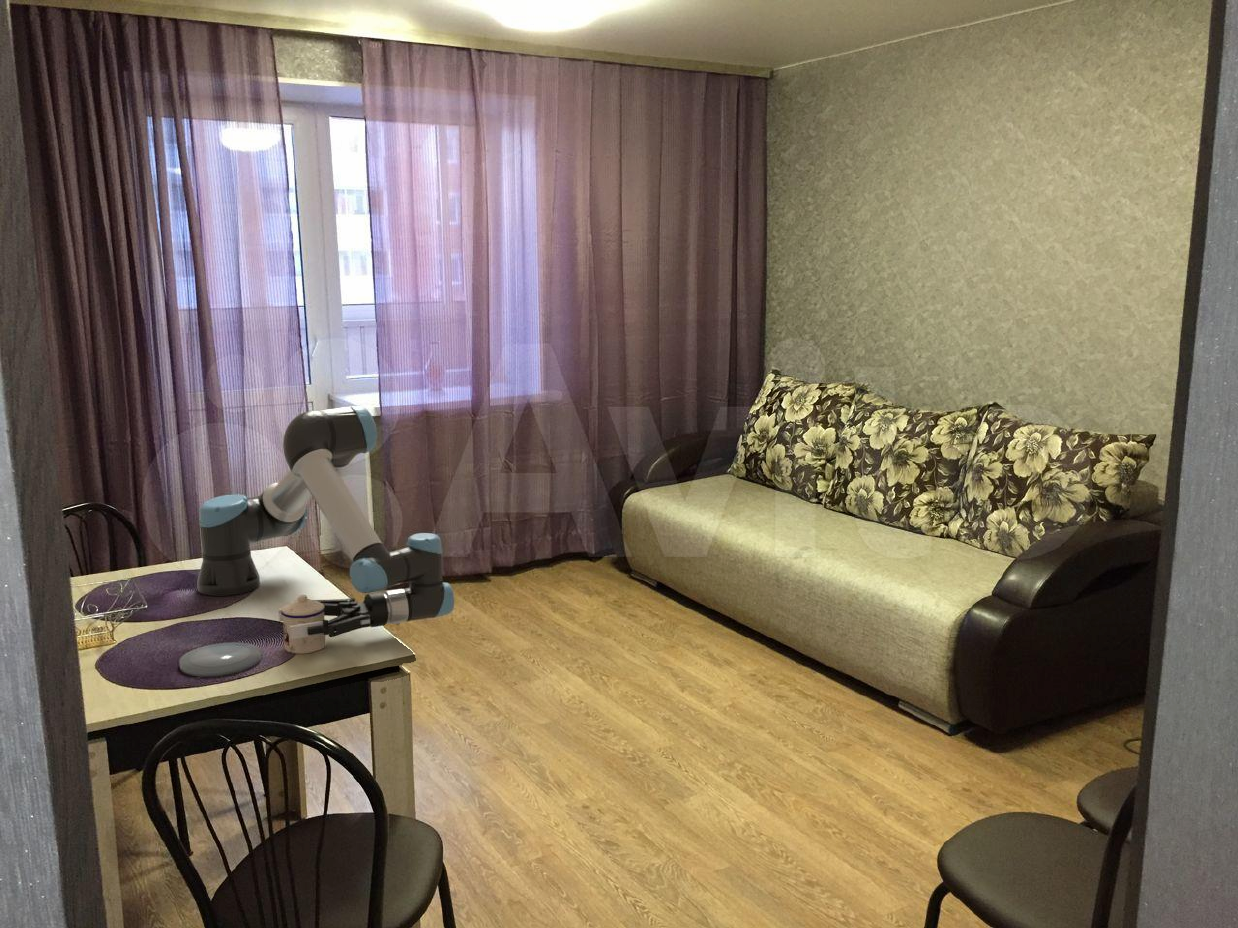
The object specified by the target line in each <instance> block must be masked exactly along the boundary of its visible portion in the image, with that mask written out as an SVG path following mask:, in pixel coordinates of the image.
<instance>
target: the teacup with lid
mask: <svg viewBox="0 0 1238 928" xmlns="http://www.w3.org/2000/svg"><path fill="white" fill-rule="evenodd" d="M313 600H314V599H311V598H308V596H307V595H305V594H301V595H298V596H297V599H296V600H294V601H292V602H290V603H288V604H285V605H284V606H283V607H282V608H283V609H282V611H281V613H282V615H283V621H282V625H283V627H282V628H283V642H284V650H285V651H286V652H287V653H290V652H291V654H296V655H297V654H299V655H304V654H310V653H316V652H318V651H320V650H322V649H323V648H325V647H326V643H327V641H326V635H324V633H323V634H321V635H315V636H309V637H303V638H296V639H291V638H290V626H293V625H299V624H306V623H312V622H318V621H322V625H323V619H324V620H325V616H324V611H325V607H324V605H323V604H322V603H321V602H318V601H313Z"/></svg>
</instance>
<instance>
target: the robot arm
mask: <svg viewBox="0 0 1238 928" xmlns="http://www.w3.org/2000/svg"><path fill="white" fill-rule="evenodd" d="M377 431H378V430H377V425H376V422H375V419H374V417H373V415H372V414H371V412H370V411H369V410H368V409H367V408H366V407H364V406H361V405H348V406H342V407H335V408H326V409H317V410H308V411H305V412H302V413H299V414H297V416H295V417H294V418H293V419H292V420H291V421H290V423H289V424H288V425H287V428H286V429H285V432H284V436H283V441H282V442H283V444H282V449H283V455H284V458H285V462H286V464H287V466H288V468H289V469H288V471H287V472H286V473H285V474H284V476H283V477H282V478H281V479H280V481H279V482H274V483H272V484H269V486H267V487H266V488H265V489H264V491H262V493H261V494H260V495H258V496H254V497H248V496H247V495H244V494H238V493H232V494H228V495H227V494H223V495H219V496H216V497H212V498H211V499H208V500H207V501H205V502H203V504H202V505H201V506H200V508H199V519H198V522H199V530H200V531H199V532H200V539H201V540H200V542H201V543H200V544H201V552H202V553H201V554H202V555H201V556H202V563H201V567H200V570H199V573H198V577H197V580H196V581H197V582H196V586H197V592H198V593H199V594H202V595H205V596H215V597H223V596H224V597H225V596H234V595H235V596H236V595H240V594H244V593H245V594H246V593H248V592H251V591H253V590H256V589H257V588H259V587H260V585H261V578H260V574H259V571H258V569H257V566H256V564H255V562H254V560H253V557H252V551H251V544H254V543H257V542H263V541H266V540H271V539H275V538H280V537H287V536H291V535H293V534H296V533H298V532H300V531H301V530H302V529H303V528H304V526H305V525H306V523H307V520H308V518H307V516H308V513H309V512H308V511H309V510H308V506H307V502H308V501H309V500H310V499H311V498H313V500H314V501H315V503H316V505H317V506H318V507H319V509H320V511H321V513H322V515H323V516H324V518H325V519H326V521H327V522H328V524H329V525H330V527H331V529H332V531H333V532H334V534H335V535H336V537H337V539H338V540H339V542H340V544H341V545H342V547H343V549H344V550H345V551H346V553H347V555H348V556H349V558H350V560H351V562H352V563H351V565H350V567H349V578H350V579H351V585H352V587H353V588H354V589H355V590H356V591H357V592H358V593H362V594H365V595H364V600H363V601H362V602H358V601H356V598H355V597H350V598H349V597H348V598H342V599H341V598H338V599H336V598H334V599H312V600H313V601H318V602H321V603H322V604H323V605H324V607H325V611H324V617H325V616H326V617H334V618H332V619H329V620H328V619H325V618H324V619H323V625H322V621H318V622H312V623H306V624H299V625H293V626H290V638H291V639H296V638H303V637H309V636H315V635H321V634H323V633H324V635H325V636H328V637H329V638H334V637H337V636H340V635H343V634H346V633H349V632H353V631H355V630H359V629H363V628H377V627H383V626H386V625H387V624H388V625H393V624H396V626H400V624H401V623H405V622H411V621H412V622H414V621H418V620H419V621H420V620H426V619H436V618H440V617H443V616H447V615H450V614H451V613H452V612H453V611H454V608H455V596H454V590H453V587H452V586H451V584H450V583H448V582H444V580H443V548H442V539H441V537H440V536H439V535H438V534H436V533H431V532H429V533H428V532H419V533H414V534H412V535H410V536H409V537H408V538H407V543H406V547H404V548H399V549H396V550H391V551H388V550H387V548H386V546H385V545H384V544H383V542H382V541H381V539H380V538H379V535H378V534H377V533H376V531H375V529H374V528H373V526H372V525H371V523H370V521H369V520H368V518H367V517H366V515H365V514H364V512H363V510H362V509H361V507H360V505H359V504H358V502H357V500H356V499H355V498H354V496H353V494H352V493H351V491H350V489H349V488H348V486H347V485H346V483H345V481H344V480H343V478H342V476H341V475H340V474H339V472H338V470H337V469H341V468H345V467H346V466H348V465H349V464H350V463H351V462H352V461H353V460H354V458H355V457H356V456H358V455H359V454H367V453H369V452H371V451H373V450H374V449H375V447H376V446H377V445H376V444H377V442H378V441H377V440H378V432H377ZM406 583H408V584H409V587H406V588H396V589H389V590H388V588H392V587H394V586H398V585H403V584H406ZM385 589H387V590H385ZM381 591H384V592H381ZM282 609H283V607H282V608H281V607H280V608H278V618H279V622H283V615H282V613H281V611H282Z"/></svg>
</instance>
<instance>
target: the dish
mask: <svg viewBox="0 0 1238 928" xmlns="http://www.w3.org/2000/svg"><path fill="white" fill-rule="evenodd" d="M261 659H262V651H261V649H260V647H258V646H257V645H254V644H251V643H246V642H235V641H234V642H232V641H231V642H219V643H213V644H207V645H204V646H200V647H197V648H195V649H192V650H190V651H188V652H186V653H184V654H183V655H182V656H181V657H180V658H179V660H178V662H179V664H178V665H179V670H180V671H181V672H182V673H183V674H186V675H189V676H193V677H194V676H195V677H207V678H208V677H209V678H210V677H220V676H221V677H222V676H223V677H224V676H228V675H234V674H237V673H241V672H243V671H247V670H248V669H251V668H253V667H254V666H256V665H257V664H259V663H260V661H261Z"/></svg>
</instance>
